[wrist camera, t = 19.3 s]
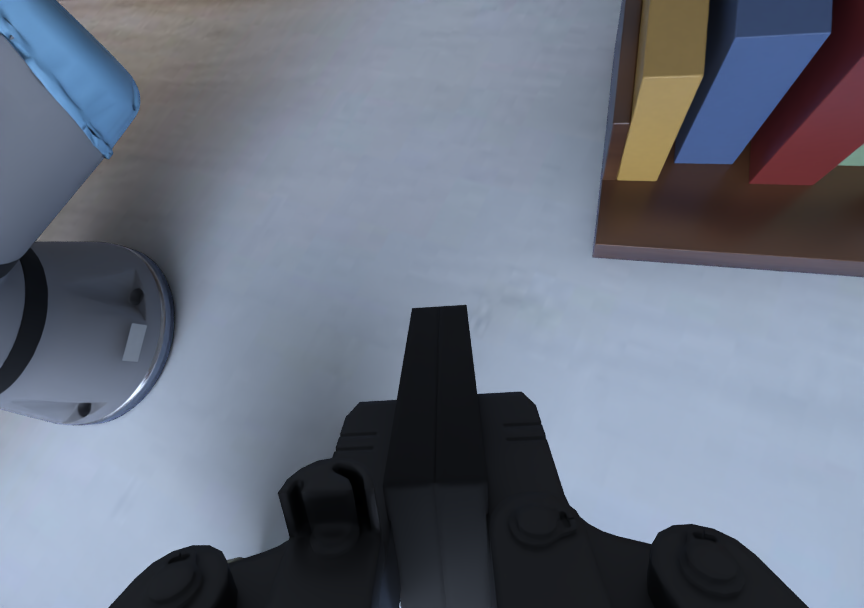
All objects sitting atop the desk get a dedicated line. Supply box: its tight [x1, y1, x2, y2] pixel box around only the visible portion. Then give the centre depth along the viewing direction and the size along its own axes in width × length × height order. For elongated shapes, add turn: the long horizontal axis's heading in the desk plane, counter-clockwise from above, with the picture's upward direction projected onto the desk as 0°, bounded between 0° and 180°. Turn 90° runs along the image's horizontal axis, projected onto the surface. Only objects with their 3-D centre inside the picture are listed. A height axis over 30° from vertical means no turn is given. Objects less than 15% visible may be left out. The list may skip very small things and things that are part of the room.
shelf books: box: [617, 0, 864, 185], centre depth 21 cm, size 9×10×10 cm
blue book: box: [674, 0, 833, 164], centre depth 22 cm, size 9×3×10 cm, turn 171°
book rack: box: [592, 0, 864, 277], centre depth 24 cm, size 15×16×9 cm
